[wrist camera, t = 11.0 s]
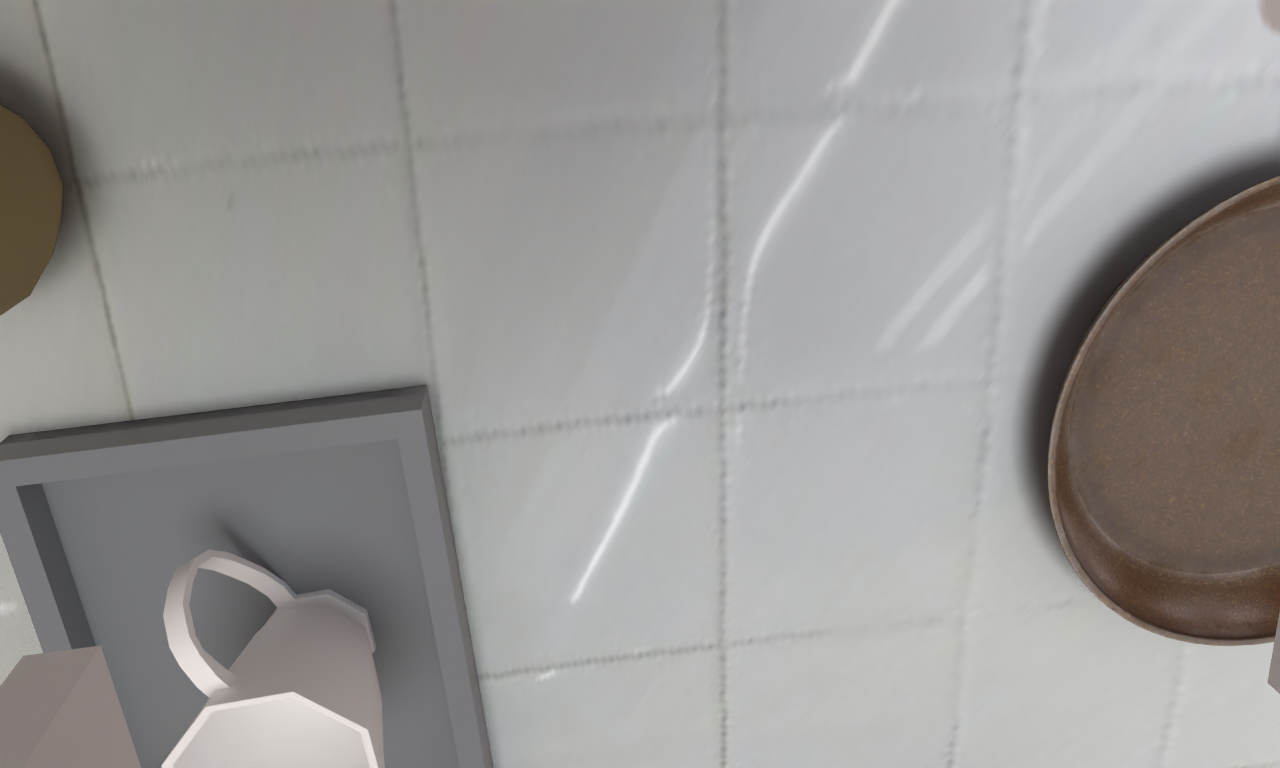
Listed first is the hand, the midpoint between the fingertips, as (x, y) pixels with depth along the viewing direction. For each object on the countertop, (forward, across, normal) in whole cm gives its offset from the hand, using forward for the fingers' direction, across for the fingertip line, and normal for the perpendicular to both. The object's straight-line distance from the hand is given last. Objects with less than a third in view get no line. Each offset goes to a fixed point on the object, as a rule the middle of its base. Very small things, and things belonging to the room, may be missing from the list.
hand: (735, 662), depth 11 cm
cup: (+26, -13, -14) cm, 32 cm away
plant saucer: (+27, +27, -11) cm, 40 cm away
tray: (+27, -14, -16) cm, 34 cm away
